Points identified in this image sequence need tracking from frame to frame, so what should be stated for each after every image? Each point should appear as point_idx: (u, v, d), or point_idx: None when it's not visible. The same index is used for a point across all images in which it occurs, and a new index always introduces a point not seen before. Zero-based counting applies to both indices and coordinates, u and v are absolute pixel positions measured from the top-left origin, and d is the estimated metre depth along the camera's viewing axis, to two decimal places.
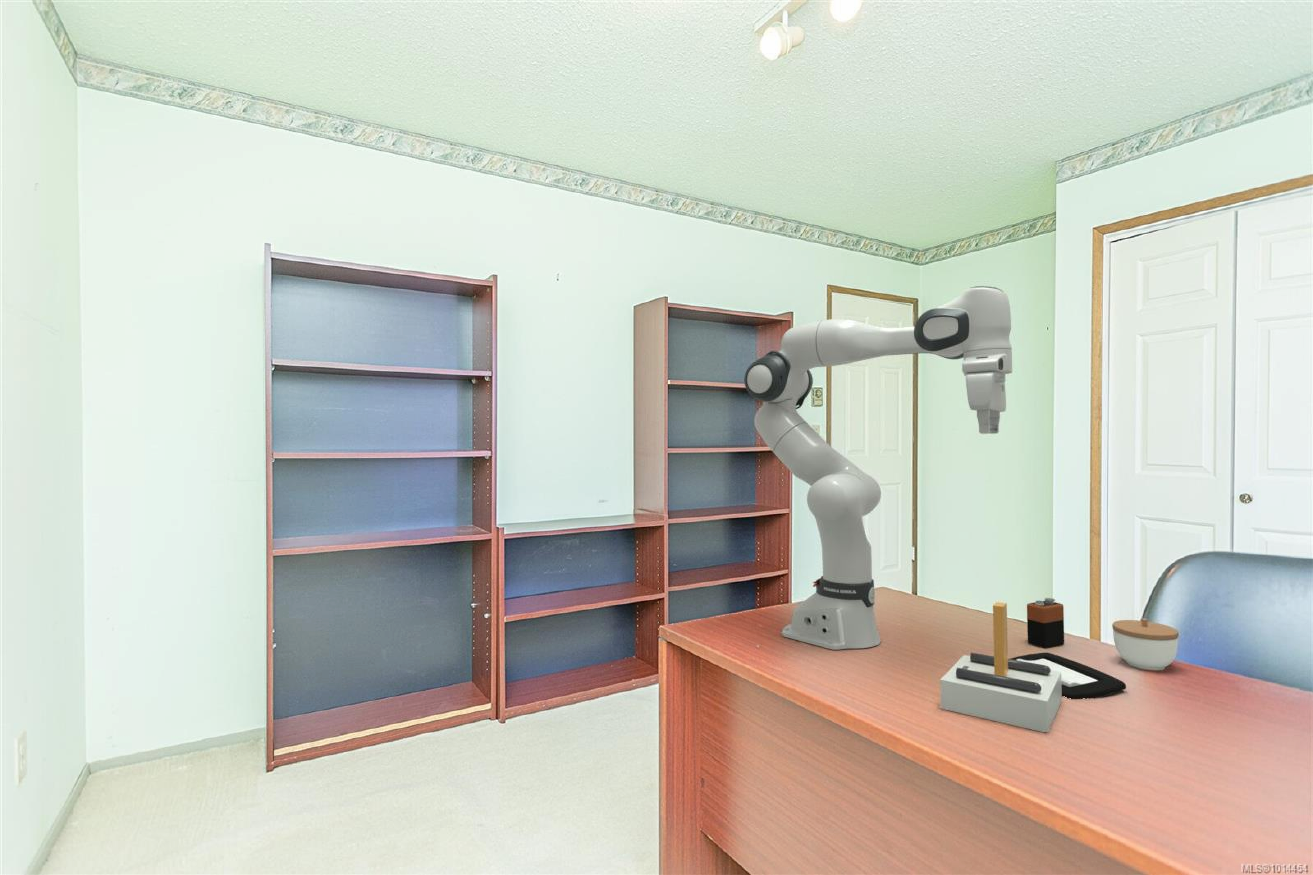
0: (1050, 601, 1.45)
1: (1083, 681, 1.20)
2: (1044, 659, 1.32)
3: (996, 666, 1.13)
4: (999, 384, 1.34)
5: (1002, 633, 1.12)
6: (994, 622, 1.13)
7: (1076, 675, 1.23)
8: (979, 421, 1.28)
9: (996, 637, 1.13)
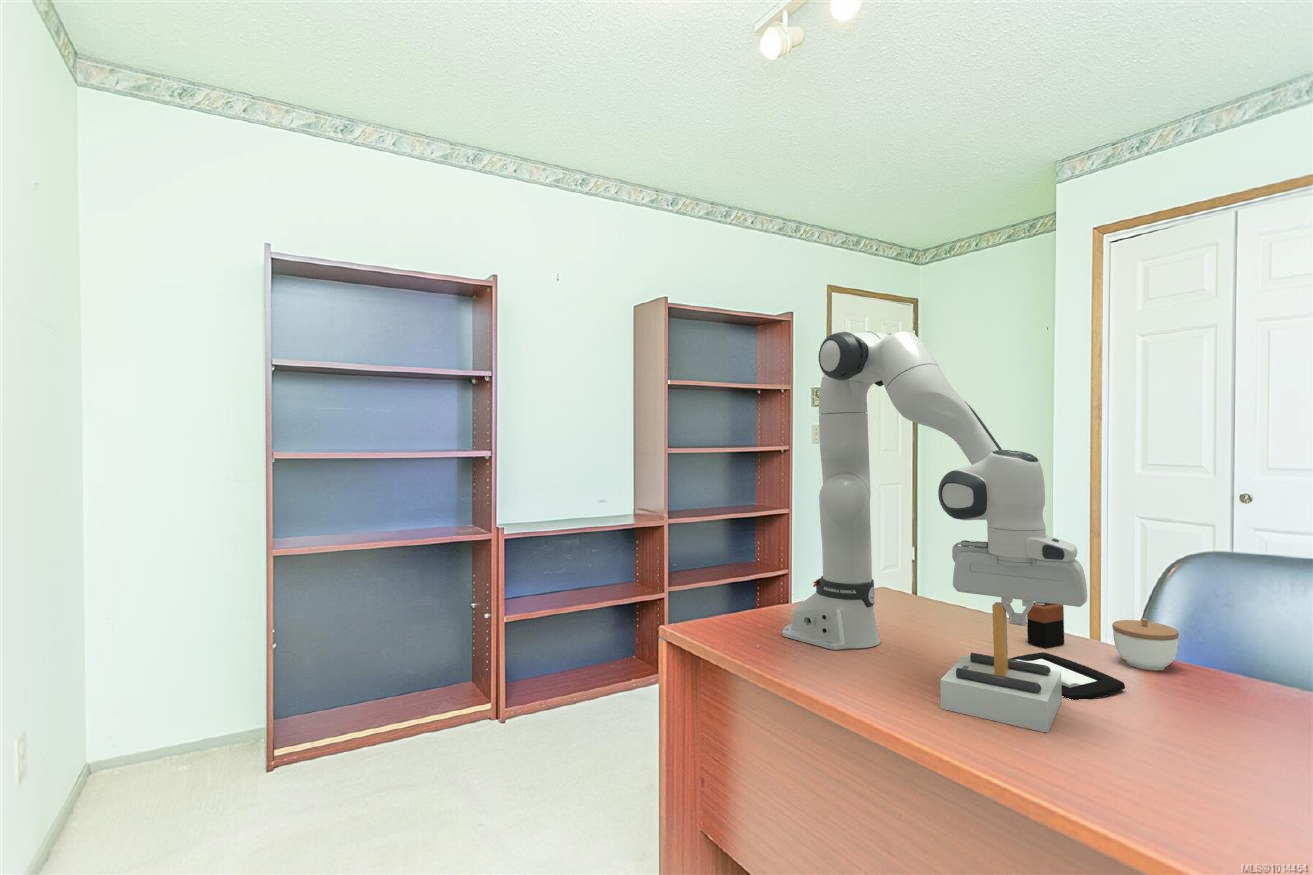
0: None
1: (1082, 681, 1.20)
2: (1041, 659, 1.32)
3: (996, 666, 1.13)
4: None
5: (1002, 633, 1.12)
6: (994, 622, 1.13)
7: (1075, 675, 1.23)
8: None
9: (996, 637, 1.13)
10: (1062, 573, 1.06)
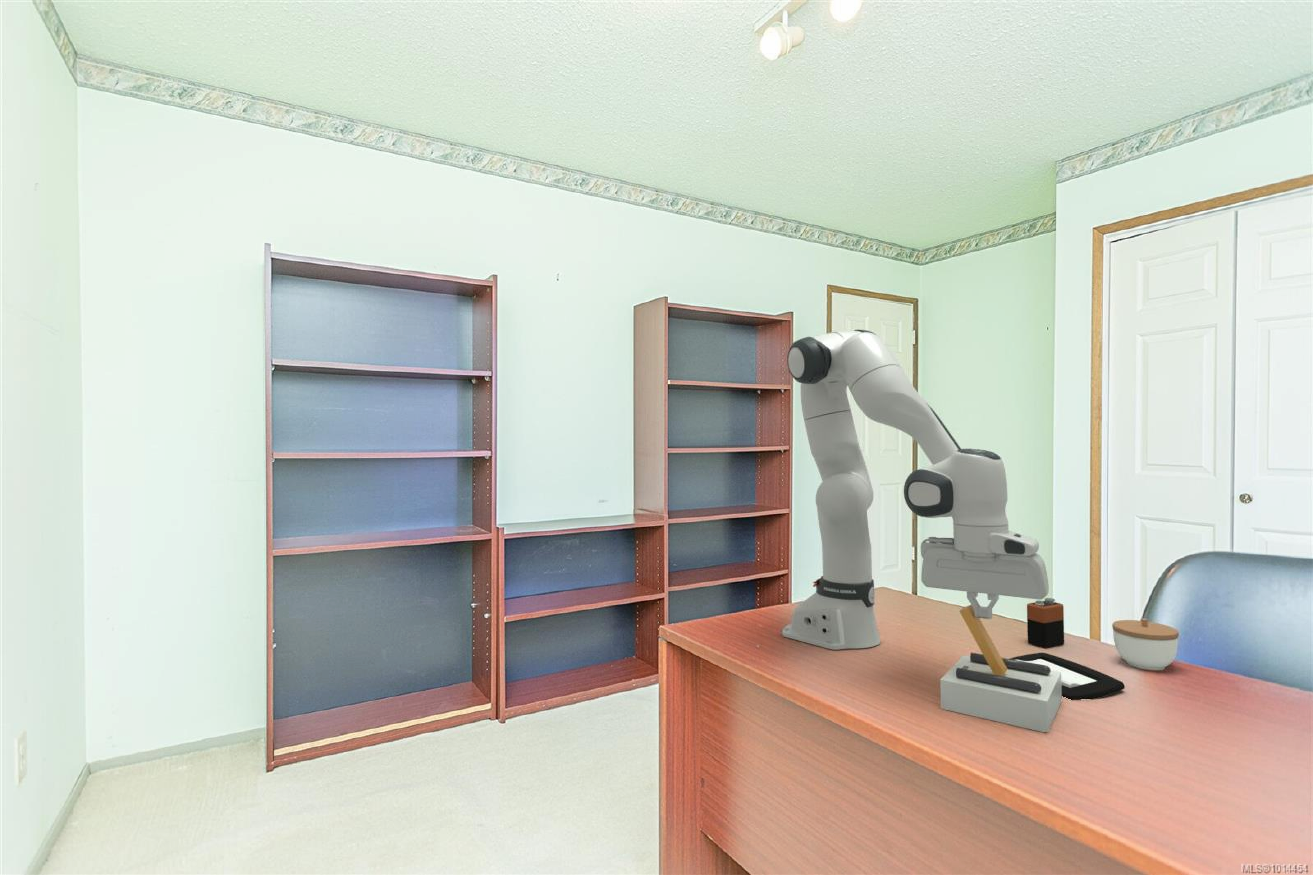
0: (1050, 601, 1.45)
1: (1082, 681, 1.20)
2: (1041, 659, 1.32)
3: (992, 667, 1.13)
4: None
5: (980, 633, 1.14)
6: (968, 626, 1.15)
7: (1074, 675, 1.23)
8: (993, 606, 1.14)
9: (977, 639, 1.14)
10: (1023, 567, 1.10)
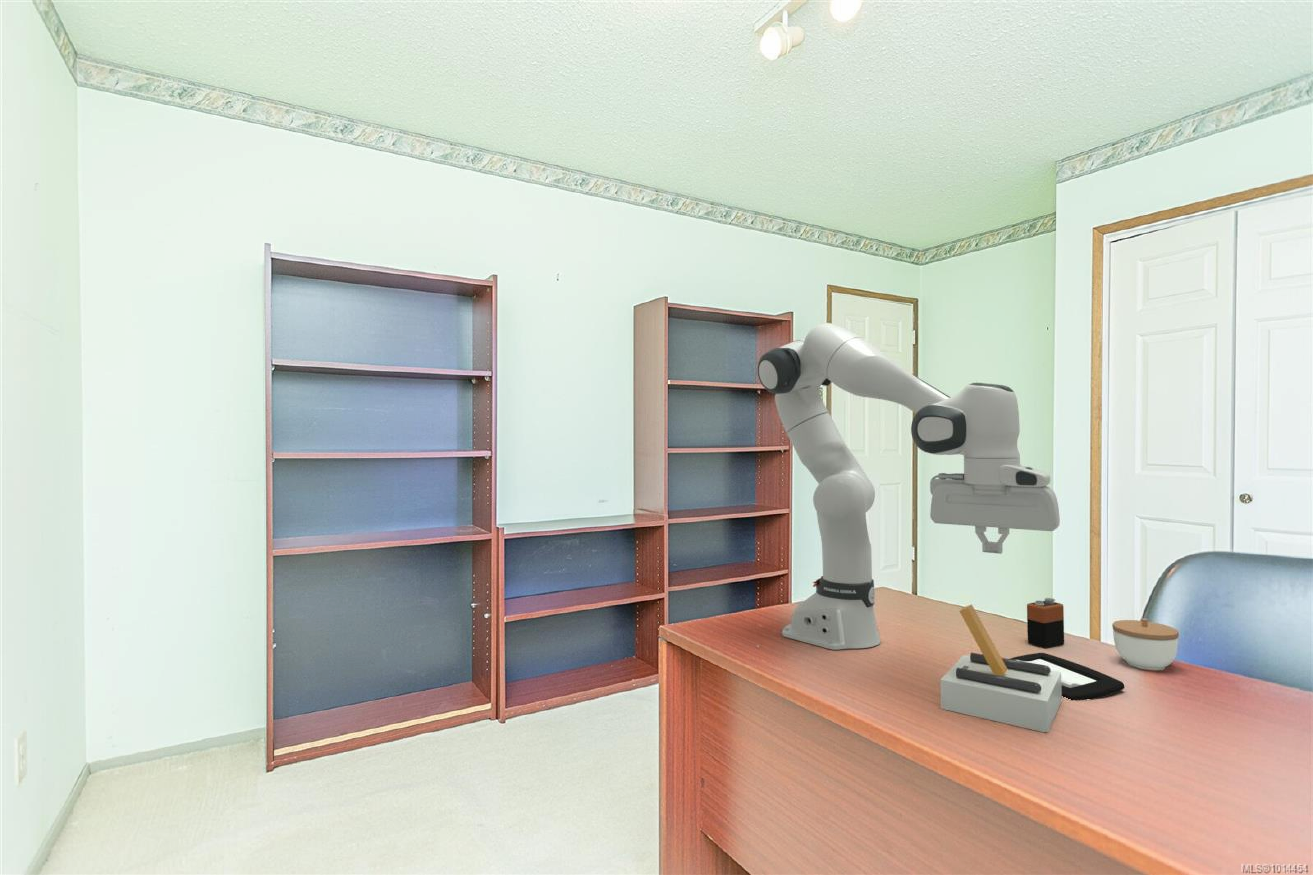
0: (1050, 601, 1.45)
1: (1082, 682, 1.20)
2: (1040, 659, 1.32)
3: (992, 667, 1.13)
4: None
5: (980, 633, 1.14)
6: (968, 626, 1.15)
7: (1074, 675, 1.23)
8: (1003, 540, 1.12)
9: (977, 639, 1.14)
10: (1035, 499, 1.09)
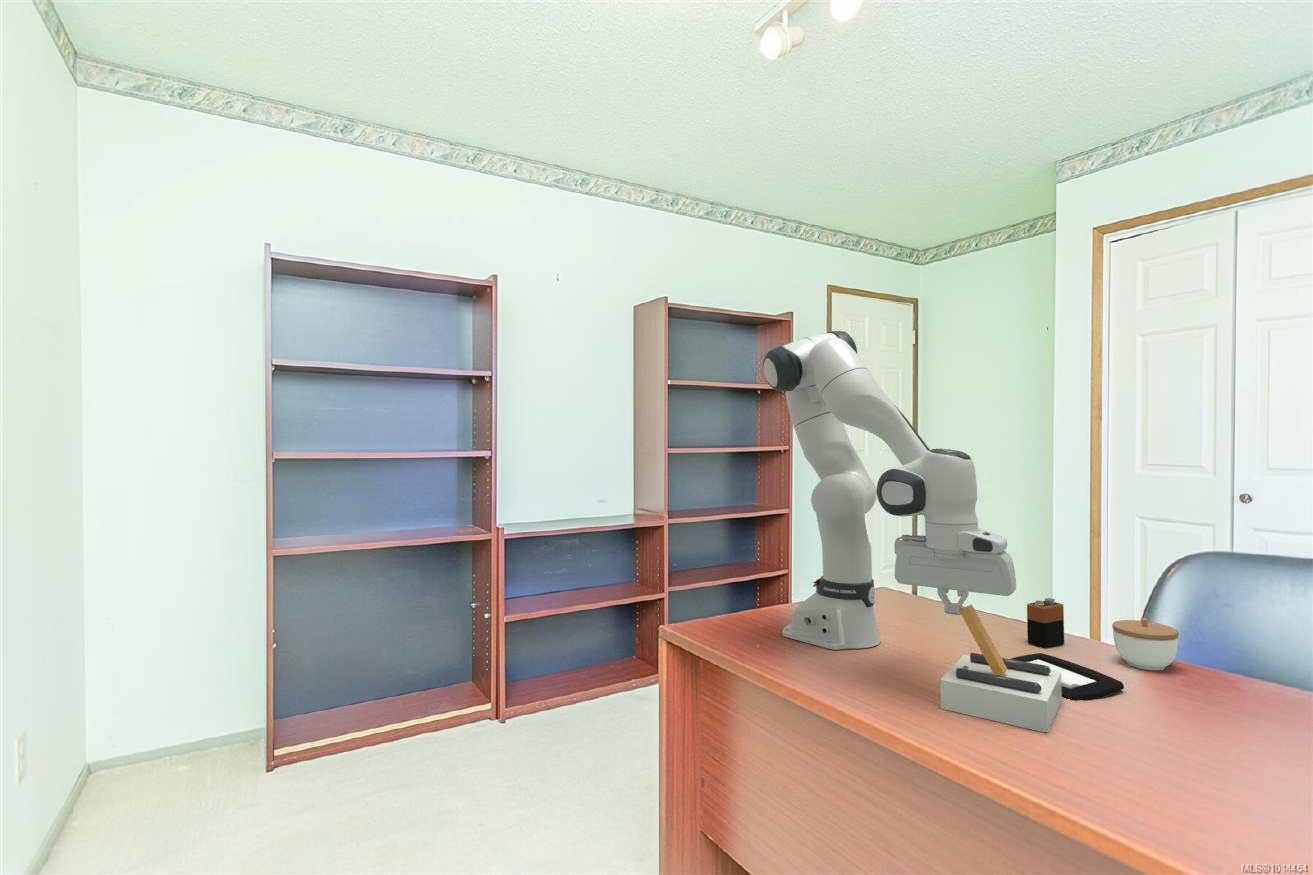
0: (1050, 601, 1.45)
1: (1082, 682, 1.20)
2: (1039, 659, 1.32)
3: (992, 667, 1.13)
4: None
5: (980, 633, 1.14)
6: (968, 626, 1.15)
7: (1073, 676, 1.23)
8: (962, 602, 1.16)
9: (977, 639, 1.14)
10: (991, 564, 1.13)
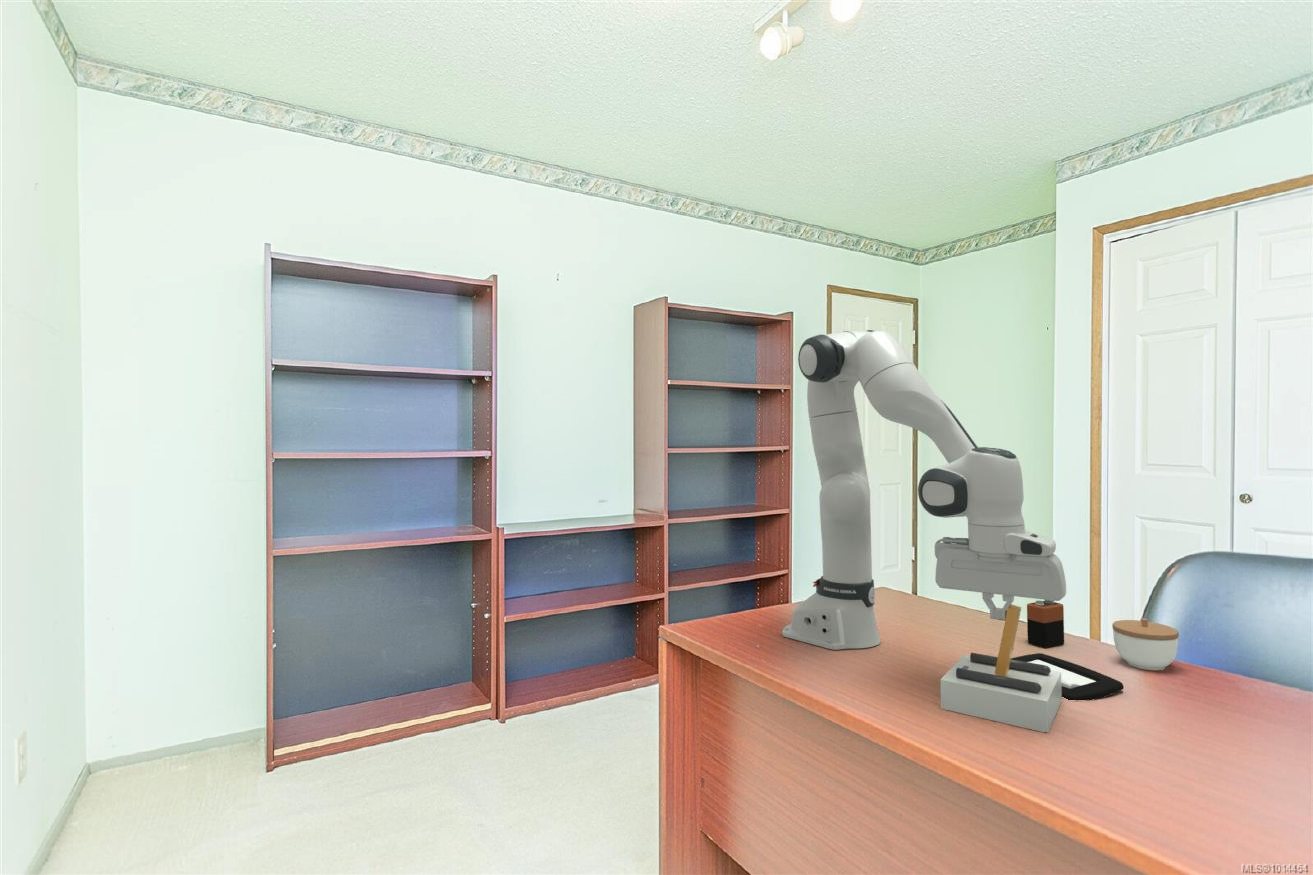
0: (1050, 601, 1.45)
1: (1081, 682, 1.20)
2: (1038, 660, 1.32)
3: (998, 666, 1.12)
4: None
5: (1011, 636, 1.11)
6: (1005, 624, 1.12)
7: (1073, 676, 1.23)
8: None
9: (1004, 639, 1.12)
10: (1040, 567, 1.08)
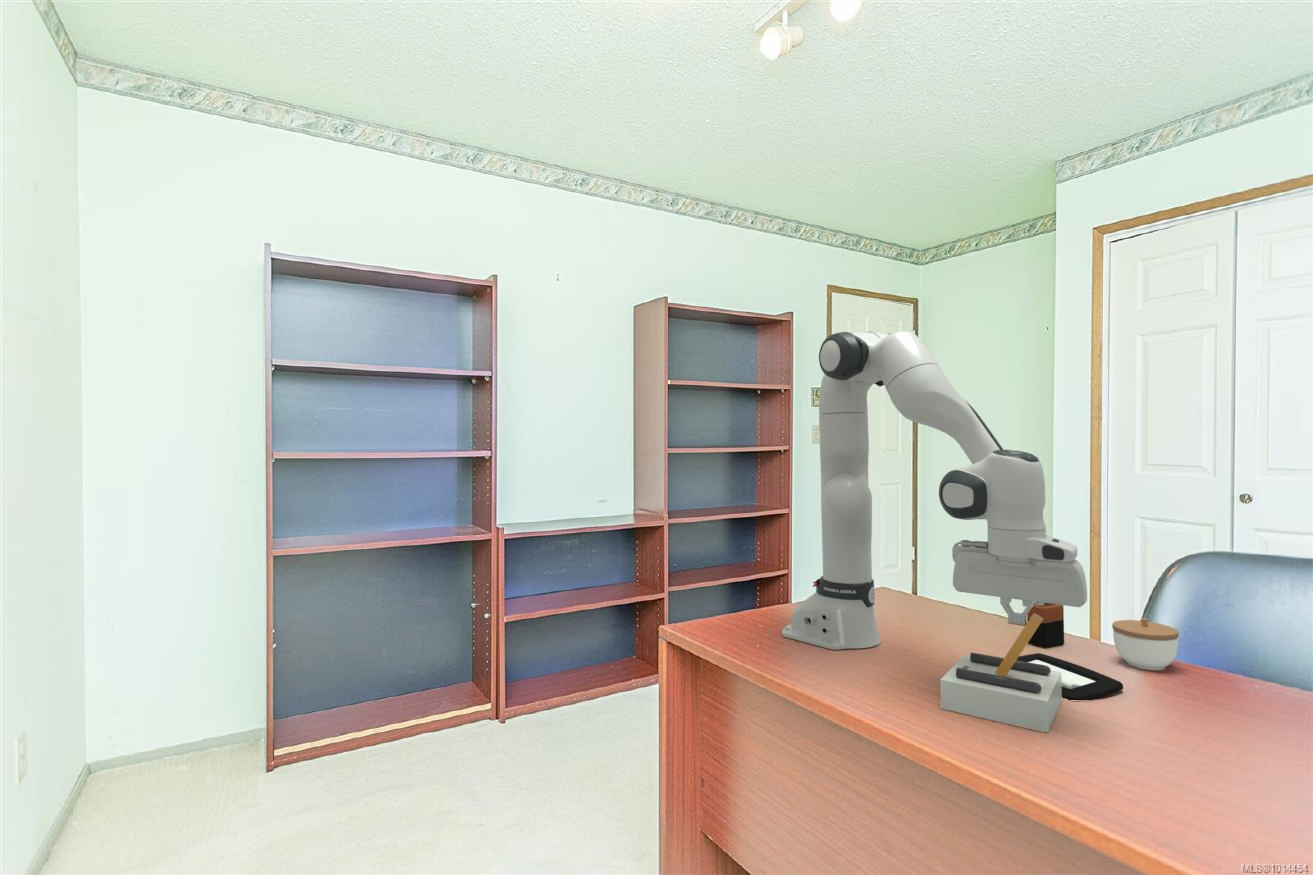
0: None
1: (1081, 682, 1.20)
2: (1037, 660, 1.32)
3: (1001, 667, 1.12)
4: None
5: (1025, 643, 1.10)
6: (1023, 631, 1.10)
7: (1073, 676, 1.23)
8: (1028, 612, 1.10)
9: (1016, 644, 1.11)
10: (1062, 573, 1.06)
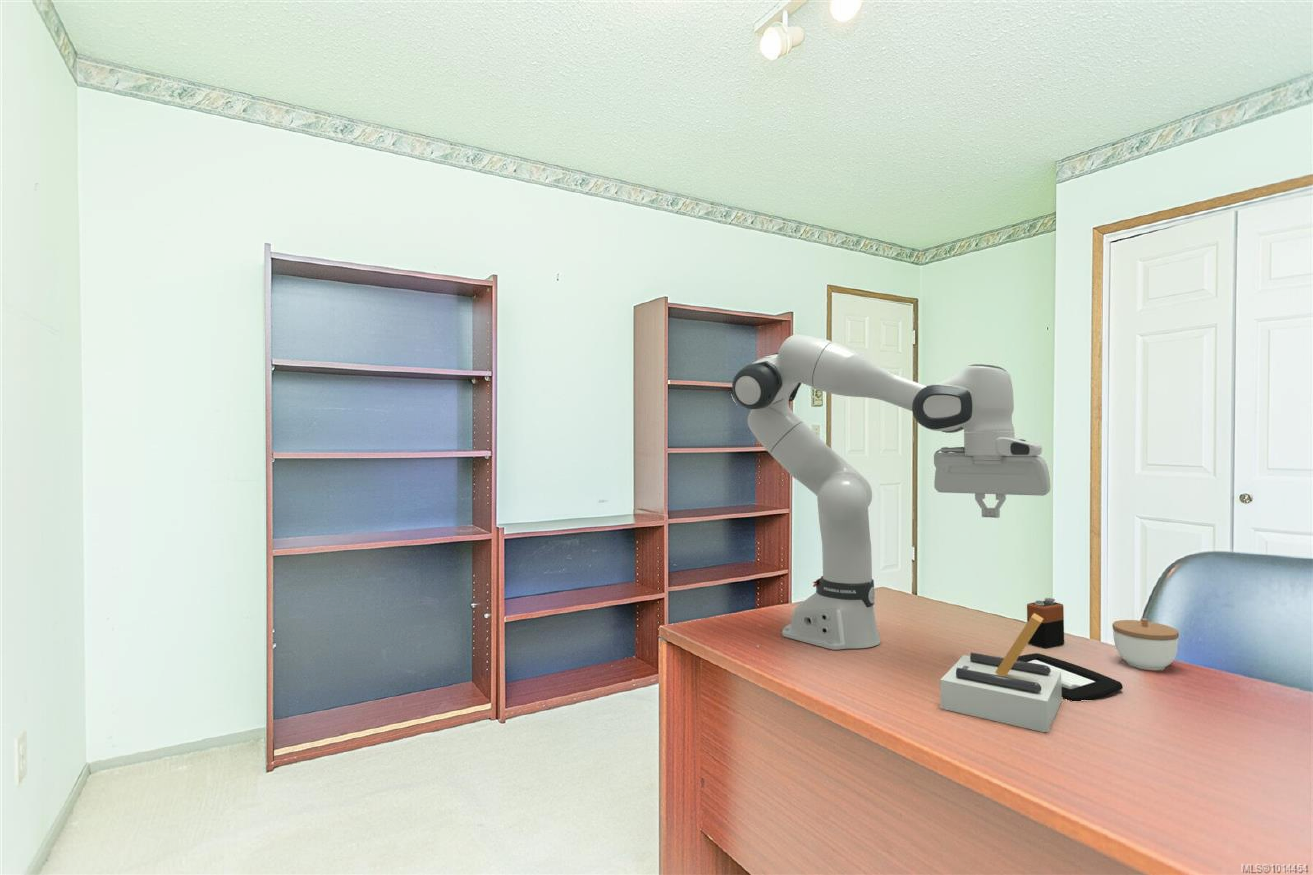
0: (1050, 601, 1.45)
1: (1081, 682, 1.20)
2: (1036, 660, 1.32)
3: (1001, 667, 1.12)
4: None
5: (1025, 643, 1.10)
6: (1023, 631, 1.10)
7: (1072, 676, 1.22)
8: (1000, 505, 1.25)
9: (1017, 644, 1.11)
10: (1028, 467, 1.22)
